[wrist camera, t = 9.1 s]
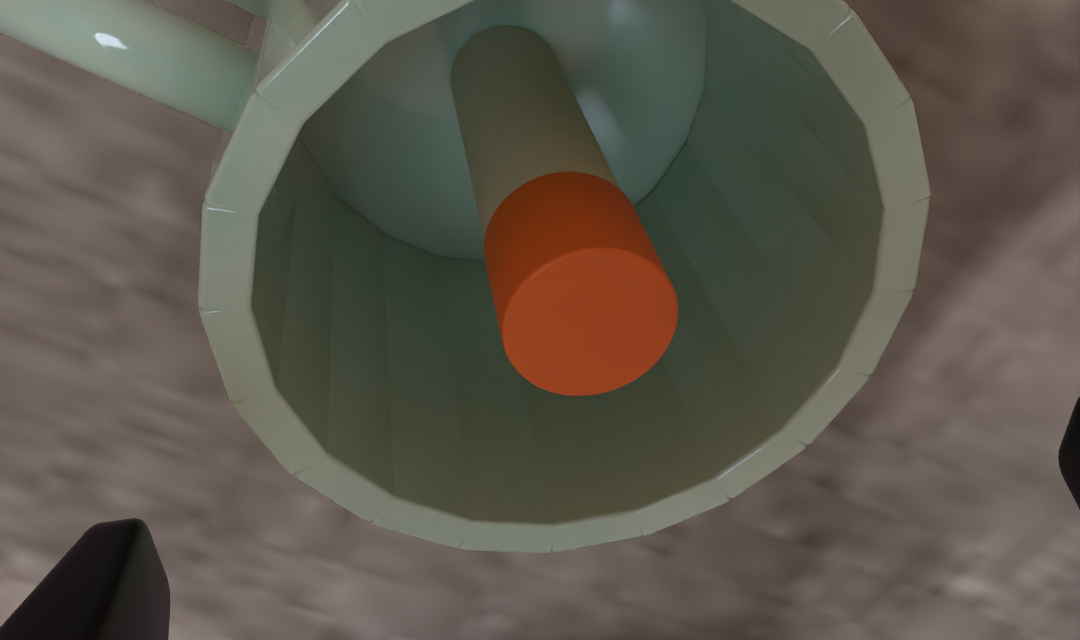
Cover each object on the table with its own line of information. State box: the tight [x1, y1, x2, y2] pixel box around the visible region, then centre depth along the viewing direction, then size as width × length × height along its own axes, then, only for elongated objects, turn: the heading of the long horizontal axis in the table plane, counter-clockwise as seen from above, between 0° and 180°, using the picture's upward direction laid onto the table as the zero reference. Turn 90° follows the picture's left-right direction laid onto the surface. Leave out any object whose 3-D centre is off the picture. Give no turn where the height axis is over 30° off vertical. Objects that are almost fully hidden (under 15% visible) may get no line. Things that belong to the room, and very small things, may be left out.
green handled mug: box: [0, 0, 931, 554], centre depth 14 cm, size 12×9×8 cm
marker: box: [451, 26, 678, 396], centre depth 15 cm, size 2×2×8 cm
